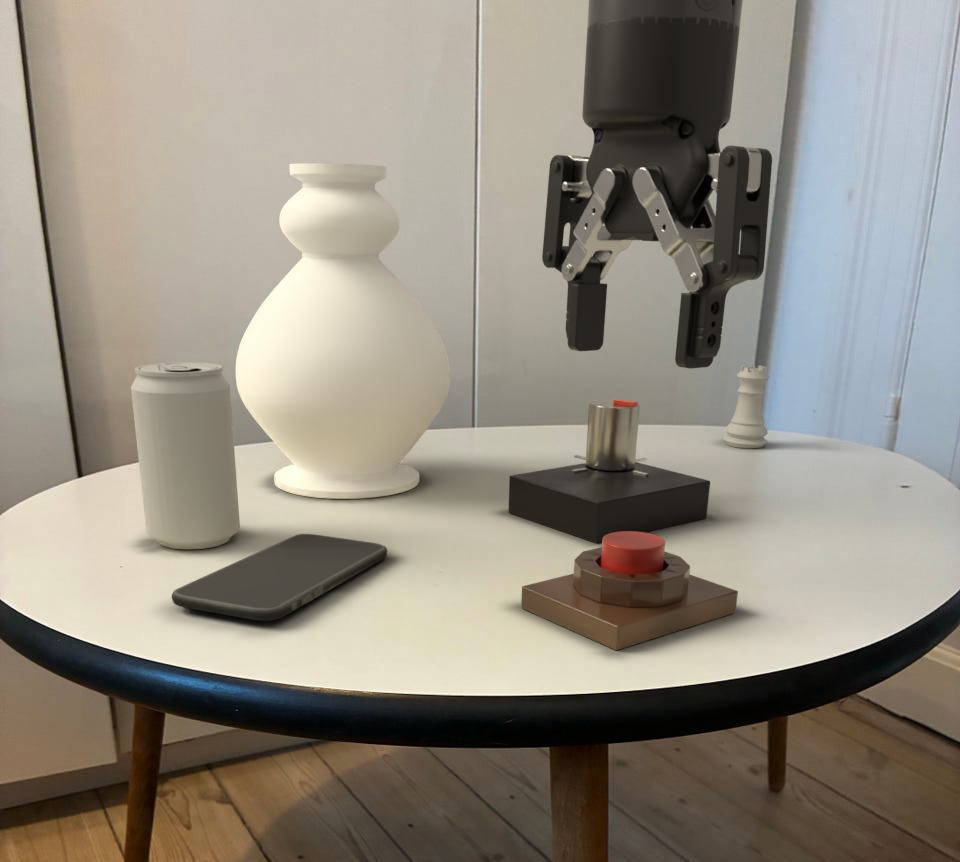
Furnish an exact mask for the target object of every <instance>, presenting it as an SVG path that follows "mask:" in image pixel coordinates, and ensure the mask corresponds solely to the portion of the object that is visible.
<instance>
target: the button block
mask: <svg viewBox="0 0 960 862" xmlns="http://www.w3.org/2000/svg"><path fill="white" fill-rule="evenodd" d="M601 554H602V546H601V547H597V548H592V549H587V550H583V551H582V552H581V553H580V554H579V555H578V556H576V558H574V561H573V564H574V565H573V573H571V574H566V575H563V576H559V577H554V578H551V579H545V580H542V581H537V582H533V583H530V584H525V585H523V586H521V600H520V602H521V603H520V607H521V609H523V610H525V611H527V612H529V613H532V614H533V615H536V616H538V617H540V618H543V619H545V620H548V621H549V622H551V623H554V624H556V625H559V626H561V627H562V628H565V629H568V630H570V631H571V632H574V633H576V634H579V635H581V636H583V637H585V638H588V639H590V640H593V641H595V642H597V643H599V644H601V645H604V646H606V647H608V648H610V649H611V650H615V651H618V650H621V649H625V648H628V647H631V646H635V645H637V644H641V643H644V642H647V641H650V640H654V639H656V638H659V637H663V636H666V635H669V634H672V633H675V632H678V631H681V630H686V629H688V628H691V627H695V626H698V625H700V624H704V623H707V622H710V621H713V620H717V619H720V618H722V617H725V616H729V615H732V614H735V613H736V612H737V601H738V595H739V591H738V590H736V589H733V588H730V587H727V586H724V585H722V584H719V583H716V582H714V581H713V582H712V581H710V580H707V579H704V578H701V577H698V576H697V575H696V576H695V575H692V574H690V572H691V566H690V564H689V563H688V562H687V561H685V560H684V558H683V557H681V556H680V555H676V554H674V553H671V552H667V551H664V562H663V570H662V571H660V572H657V573H653V574H626V573H619V572H613V571H610V570H607V569H605V568H602V567H601Z"/></svg>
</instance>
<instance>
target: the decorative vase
mask: <svg viewBox="0 0 960 862" xmlns="http://www.w3.org/2000/svg"><path fill="white" fill-rule="evenodd" d="M289 175H290V177H292V178H294V179H296V180H298V181H300V182H301V187H302V188H300V189H299V190H298V191H297V192H296V193H295V194H293V195H292V196H291V197H290V198H289V199H288V200H287V201H286V202H285V204H284V205H283V207H282V208H281V210H280V213H279V219H278V221H279V222H278V223H279V228H280V230H281V232H282V233H283V235H284V236H285V237H286V239H287V240H288V241H289V242H290V244H292V245H293V246H294V247H295V248H296V249H297V250H298V251H300V252H301V258H300V259H299V260H298V262H297V263H296V264H294V266H293V267H292V268H291V269H290V271H288V272H287V274H286V275H285V276H284V277H283V278H282V279H281V280H280V281H279V282H278V283H277V285H276V286H275V287H274V288H273V290H271V292H270V293H269V294H268V296H267V297H266V298H265V299H264V301H263V302H262V303H261V305H260V306H259V308H258V309H257V311H256V312H255V313H254V315H253V317H252V319H251V320H250V322H249V323H248V326H247V327H246V329H245V331H244V334H243V336H242V338H241V340H240V343H239V347H238V348H237V353H236V358H235V382H236V383H235V384H236V388H237V391H238V395H239V397H240V399H241V401H242V403H243V405H244V407H245V408H246V409H247V411H248V412H249V414H250V415H251V416H252V418H253V419H254V420H255V422H256V423H257V424H258V425H259V427H260V428H261V429H262V430H263V431H264V433H265V434H266V435H267V436H268V438H270V439H271V441H272V442H273V443H274V444H275V445H276V446H277V447H278V448H279V450H280V451H281V452H282V453H283V454H284V455H285V456H286V458H287V459H288V460H289V461H290V462H291V463H292V464H289V465H287V466H284V467H282V468H280V469H278V470H277V471H276V472H275V473H274V475H273V480H274V485H275V486H276V487H277V488H278V489H280V490H281V491H283V492H287V493H290V494H293V495H297V496H302V497H309V498H317V499H331V500H332V499H333V500H355V499H372V498H380V497H387V496H392V495H398V494H402V493H405V492H407V491H410V490H412V489H414V488H416V487H417V486H418V485H419V483H420V472H419V471H418V470H417V469H416V468H414V467H412V466H410V465H408V464H404V463H401V462H402V461H403V460H404V459H405V457H406V456H407V455H408V454H409V453H410V452H411V450H412V449H413V447H414V446H416V444H417V443H418V441H419V440H420V439H421V438H422V437H423V435H424V434H425V432H426V431H427V430H428V428H430V426H431V425H432V424H433V422H434V420H435V419H436V418H437V416H438V414H439V413H440V412H441V411H442V408H443V407H444V405H445V403H446V401H447V399H448V395H449V392H450V387H451V365H450V359H449V355H448V351H447V348H446V346H445V343H444V341H443V339H442V337H441V335H440V333H439V331H438V330H437V328H436V326H435V325H434V322H433V321H432V319H431V318H430V316H429V315H428V313H427V312H426V310H425V309H424V308H423V306H422V305H421V304H420V302H419V301H418V299H416V298H415V296H414V295H413V294H412V293H411V292H410V291H409V290H408V288H407V287H406V286H405V285H404V284H403V282H401V281H400V279H398V277H397V276H396V275H395V274H394V273H393V272H392V271H391V270H390V268H388V266H386V264H385V263H383V262H382V260H381V259H380V254H381V253H382V252H384V250H385V249H386V248H388V246H389V245H390V244H391V243H392V242H393V241H394V239H395V238H396V236H397V235H398V233H399V230H400V218H399V215H398V212H397V211H396V209H395V208H394V206H393V205H392V204H391V202H389V200H388V199H386V198H385V197H384V196H383V195H382V194H381V193H379V192H378V191H377V190H376V184H377V183H380V182H381V181H383V180H385V179H387V167H386V166H384V165H375V164H373V165H372V164H358V163H357V164H355V163H328V162H327V163H326V162H324V163H323V162H321V163H320V162H319V163H317V162H316V163H314V162H313V163H312V162H308V163H307V162H306V163H305V162H304V163H303V162H301V163H290V164H289Z"/></svg>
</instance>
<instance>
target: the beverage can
mask: <svg viewBox="0 0 960 862" xmlns="http://www.w3.org/2000/svg"><path fill="white" fill-rule="evenodd" d="M223 371H224V367H223V366H222V364H218V363H212V362H202V361H201V362H199V361H169V362H168V361H166V362H153V363H145V364H140V365H136V366H135V367H134V373H135V374H136V377H135V378H134V380H133V382H132V384H131V386H130V393H131V402H132V411H133V419H134V421H133V422H134V431H135V439H136V448H137V456H138V466H139V467H138V468H139V474H140V475H139V476H140V485H141V494H142V503H143V512H144V520H145V530H146V531H145V532H146V534H147V535H148V536H149V537H150V538H151V539H153V540H155V541H157V542H158V543H159V544H160V545H161V546H164V547H166V548H169V549H170V548H171V549H176V550H202V549H208V548H209V549H210V548H214V547H215V548H216V547H219V546H221V545H224V544H226V543H228V541H230V540H231V537H232V536H234V535H235V534H237V533H238V532H239V530H240V527H241V521H240V508H239V506H240V505H239V496H238V495H239V494H238V480H237V467H236V454H235V453H236V452H235V439H234V424H233V413H232V399H231V397H232V396H231V386H230V383H229V382H228V381H227V379H226V377H224V376H223V373H222V372H223Z"/></svg>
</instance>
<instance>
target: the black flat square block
mask: <svg viewBox="0 0 960 862" xmlns="http://www.w3.org/2000/svg"><path fill="white" fill-rule="evenodd" d="M573 456H574V457H573V458H576V459H579V460H582V461H583V460H584V461H586V456H583V455H578V454H575V455H573ZM646 461H648V459H647V458H645V457H641V458H636V459H635V467H634V468H632V469H629V470H623V471H606V470H598V469H593V468H590V467H588V466H586V462H585V463H579V464H572V465H567V466H560V467H554V468H547V469H542V470H535V471H530V472H524V473H518V474H517V473H516V474H512V475H509V479H508V480H509V481H508V483H509V485H508V513H509V514H510V515H514V516H517V517H520V518H522V519H525V520H529V521H531V522H534V523H537V524H540V525H543V526H546V527H549V528H552V529H555V530H557V531H560V532H563V533H565V534H569V535H571V536H575V537H578V538H580V539H583V540H586V541H589V542H592V543H594V544H599V543H602V539H603V537H604V536H605V535H607V534H610V533H614V532H621V531H635V532H644V533H648V532H652V531H656V530H660V529H665V528H669V527H673V526H677V525H682V524H686V523H691V522H695V521H699V520H704V519H707V516H708V507H709V498H710V488H711V481H710V480H708V479H704V478H701V477H697V476H692V475H688V474H685V473H681V472H676V471H673V470H669V469H665V468H661V467H658V466H657V467H656V466H654V465H649V464H646V463H641V462H646Z"/></svg>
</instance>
